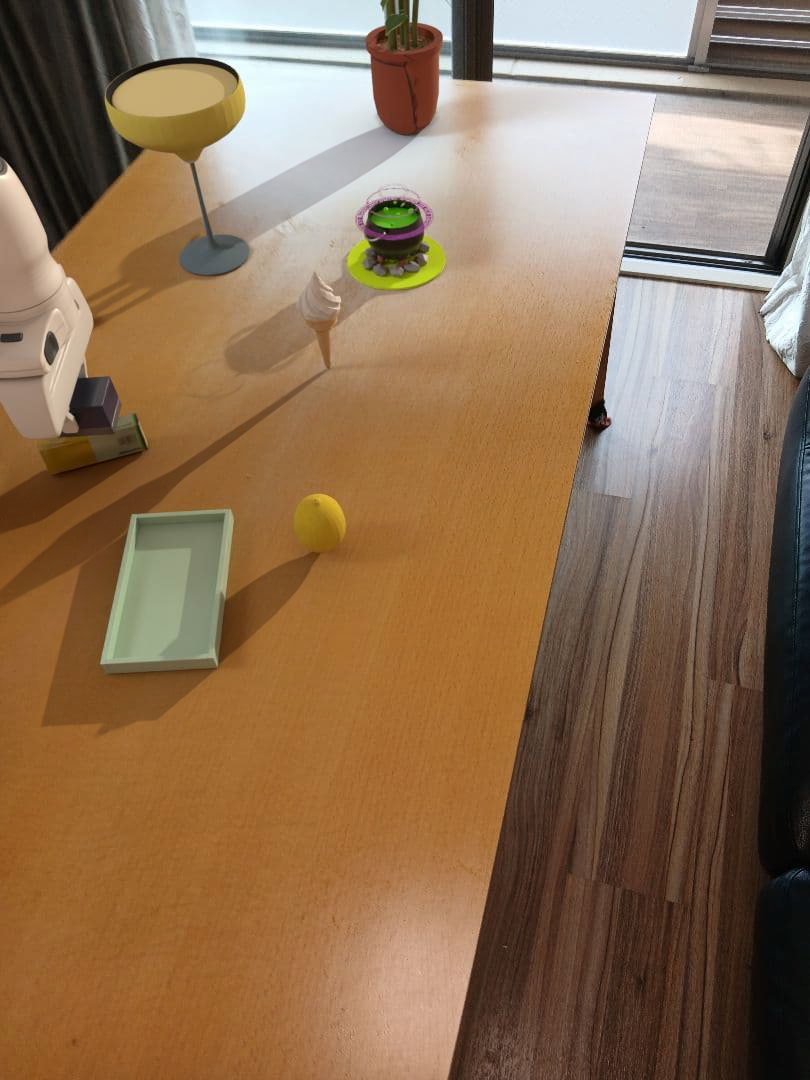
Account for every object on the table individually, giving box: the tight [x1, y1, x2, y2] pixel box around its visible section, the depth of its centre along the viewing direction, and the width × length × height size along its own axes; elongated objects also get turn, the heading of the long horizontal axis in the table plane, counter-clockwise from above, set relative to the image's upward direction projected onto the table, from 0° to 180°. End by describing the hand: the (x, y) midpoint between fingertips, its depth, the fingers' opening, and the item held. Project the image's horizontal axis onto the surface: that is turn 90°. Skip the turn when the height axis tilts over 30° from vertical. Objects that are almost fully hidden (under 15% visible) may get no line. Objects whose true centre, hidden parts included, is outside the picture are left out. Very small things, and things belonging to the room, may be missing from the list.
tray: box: [99, 508, 235, 675], centre depth 87 cm, size 11×19×2 cm, turn 2°
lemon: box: [293, 493, 347, 554], centre depth 87 cm, size 6×6×8 cm
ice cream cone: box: [295, 270, 342, 370], centre depth 103 cm, size 6×6×15 cm
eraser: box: [57, 375, 123, 438], centre depth 94 cm, size 8×5×4 cm, turn 93°
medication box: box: [37, 412, 149, 476], centre depth 99 cm, size 12×3×4 cm, turn 112°
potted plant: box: [364, 0, 452, 136], centre depth 134 cm, size 17×16×35 cm
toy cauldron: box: [346, 183, 447, 291], centre depth 119 cm, size 15×15×11 cm
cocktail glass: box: [104, 56, 250, 277], centre depth 116 cm, size 18×18×25 cm
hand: (78, 409), depth 94 cm, fingers closed on eraser, 5 cm apart
